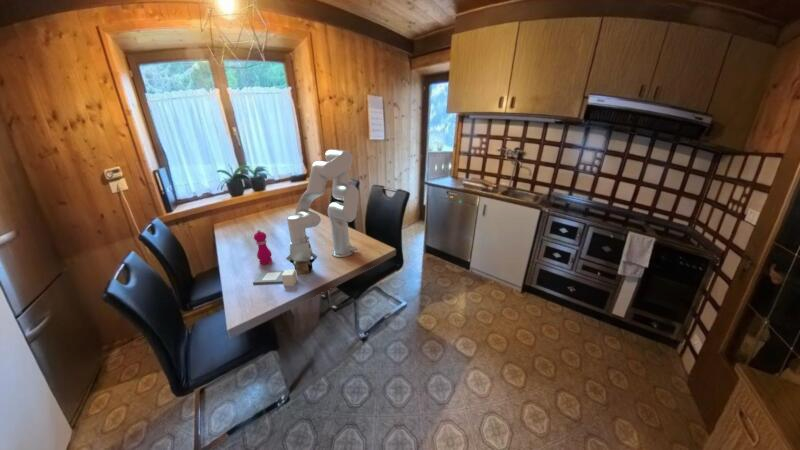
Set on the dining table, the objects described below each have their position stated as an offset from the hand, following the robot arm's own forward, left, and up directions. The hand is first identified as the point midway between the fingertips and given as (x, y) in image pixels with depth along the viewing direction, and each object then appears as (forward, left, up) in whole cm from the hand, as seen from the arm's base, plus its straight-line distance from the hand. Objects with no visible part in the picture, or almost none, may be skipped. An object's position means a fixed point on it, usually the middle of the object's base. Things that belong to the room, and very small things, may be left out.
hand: (304, 270), depth 139 cm
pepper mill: (+25, -12, -1) cm, 28 cm away
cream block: (+4, +10, -1) cm, 11 cm away
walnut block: (0, 0, -1) cm, 1 cm away
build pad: (+15, +5, -1) cm, 16 cm away
